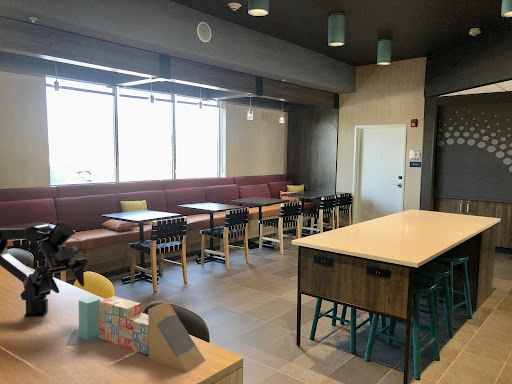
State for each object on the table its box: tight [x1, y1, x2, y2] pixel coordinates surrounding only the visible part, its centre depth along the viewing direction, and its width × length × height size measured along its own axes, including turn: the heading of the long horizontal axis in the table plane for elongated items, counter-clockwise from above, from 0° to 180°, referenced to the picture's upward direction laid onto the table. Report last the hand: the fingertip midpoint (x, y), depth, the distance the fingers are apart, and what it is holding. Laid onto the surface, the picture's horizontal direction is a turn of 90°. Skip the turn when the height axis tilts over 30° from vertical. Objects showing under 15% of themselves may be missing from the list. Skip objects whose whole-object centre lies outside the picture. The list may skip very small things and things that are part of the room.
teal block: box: [78, 296, 101, 340], centre depth 128 cm, size 5×5×12 cm
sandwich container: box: [147, 301, 206, 373], centre depth 116 cm, size 9×15×15 cm, turn 59°
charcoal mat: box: [65, 328, 108, 347], centre depth 129 cm, size 12×12×1 cm
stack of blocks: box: [99, 295, 149, 356], centre depth 125 cm, size 21×6×12 cm, turn 61°
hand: (71, 289), depth 138 cm, fingers open, 9 cm apart
